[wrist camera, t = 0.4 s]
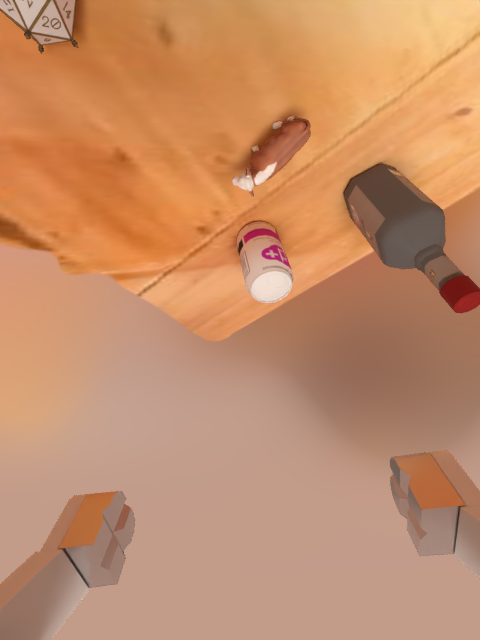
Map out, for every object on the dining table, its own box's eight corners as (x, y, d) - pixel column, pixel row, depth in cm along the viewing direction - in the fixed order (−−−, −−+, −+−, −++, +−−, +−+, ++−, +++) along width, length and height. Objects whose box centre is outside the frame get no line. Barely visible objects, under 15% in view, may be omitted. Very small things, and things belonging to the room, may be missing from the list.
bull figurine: (224, 163, 52) (229, 185, 46) (293, 101, 47) (309, 117, 41) (240, 183, 54) (247, 206, 49) (307, 127, 49) (324, 145, 44)
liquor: (350, 222, 63) (431, 336, 43) (339, 183, 57) (428, 295, 36) (397, 199, 61) (506, 309, 40) (390, 155, 54) (515, 260, 34)
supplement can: (253, 211, 59) (268, 260, 48) (285, 232, 63) (305, 281, 53) (228, 243, 63) (237, 294, 53) (259, 261, 67) (273, 311, 57)
